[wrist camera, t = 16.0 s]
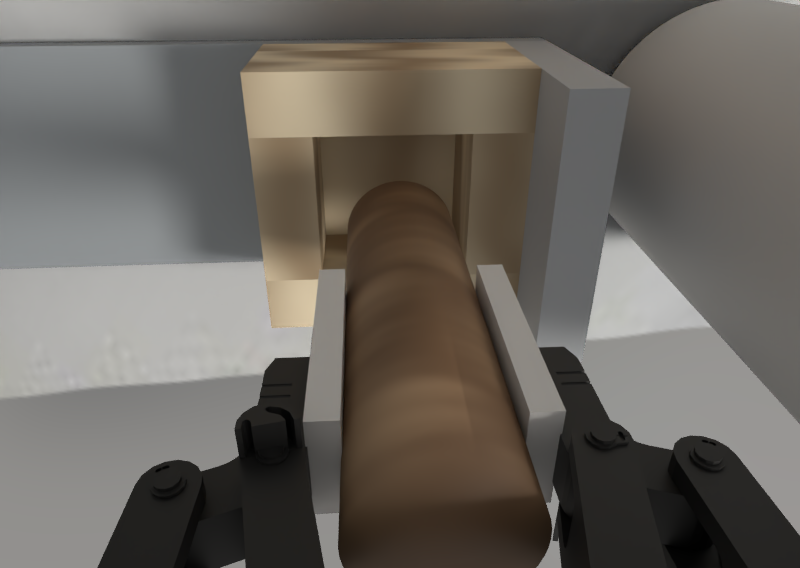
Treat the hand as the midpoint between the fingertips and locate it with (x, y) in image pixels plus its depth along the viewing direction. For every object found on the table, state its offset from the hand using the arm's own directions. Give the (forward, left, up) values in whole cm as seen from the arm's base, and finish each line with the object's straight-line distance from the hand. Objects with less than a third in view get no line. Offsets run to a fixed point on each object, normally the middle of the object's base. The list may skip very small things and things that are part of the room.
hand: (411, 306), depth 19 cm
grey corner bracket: (-7, 0, -15) cm, 17 cm away
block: (0, 0, -14) cm, 14 cm away
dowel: (0, 0, -6) cm, 6 cm away
